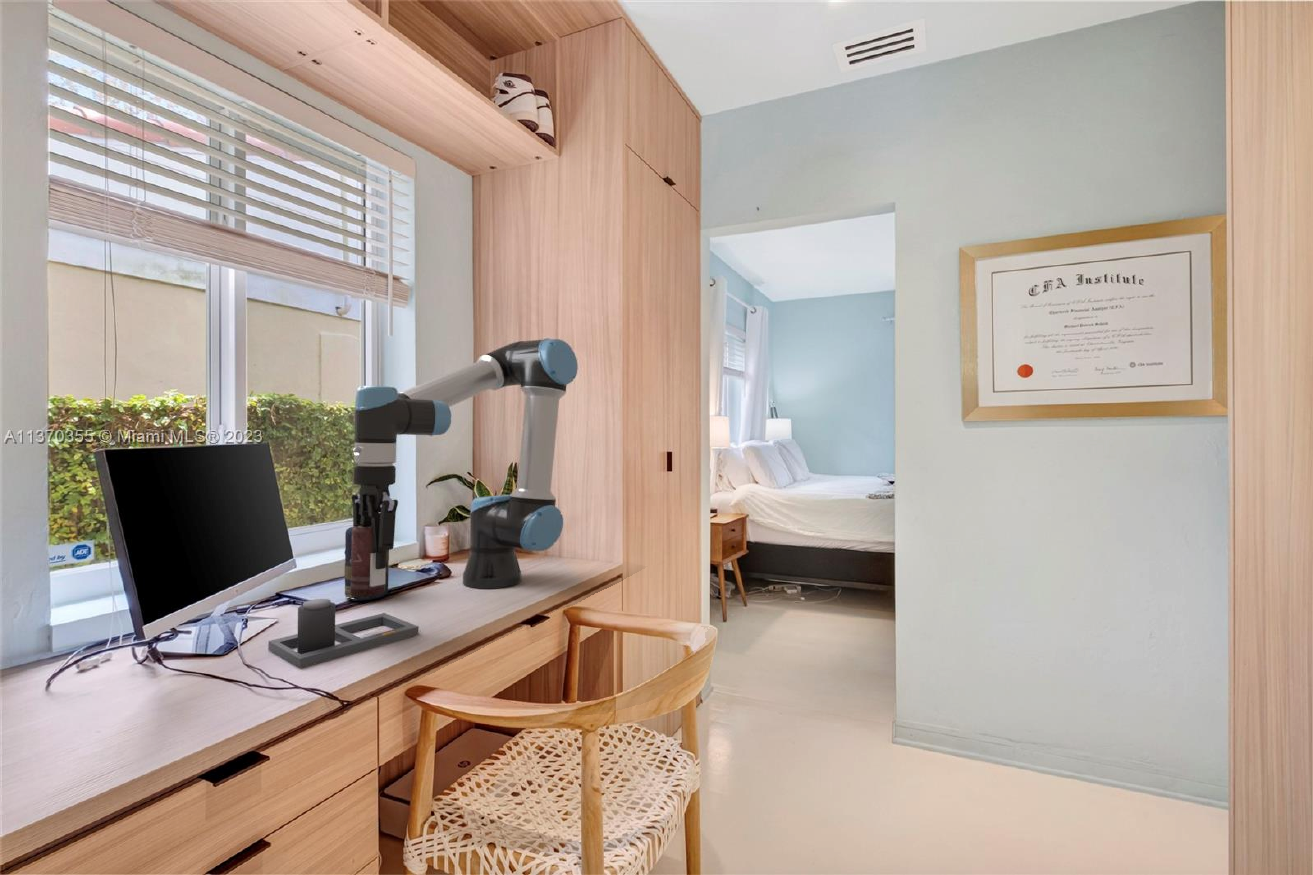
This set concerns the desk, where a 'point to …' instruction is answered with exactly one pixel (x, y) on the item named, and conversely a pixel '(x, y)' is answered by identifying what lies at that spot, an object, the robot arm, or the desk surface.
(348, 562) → the canister
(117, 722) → the desk surface
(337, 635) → the desk organizer tray
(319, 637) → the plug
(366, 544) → the can
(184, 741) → the desk surface
